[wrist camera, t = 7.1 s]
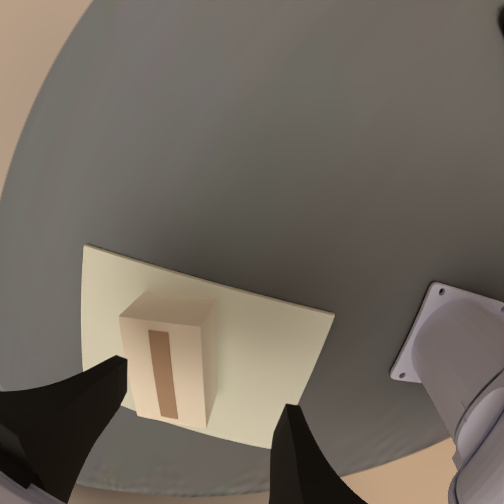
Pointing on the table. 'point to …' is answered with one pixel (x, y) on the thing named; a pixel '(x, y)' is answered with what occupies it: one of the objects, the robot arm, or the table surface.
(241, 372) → the mat
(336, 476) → the robot arm
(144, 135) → the table surface
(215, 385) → the card deck box
